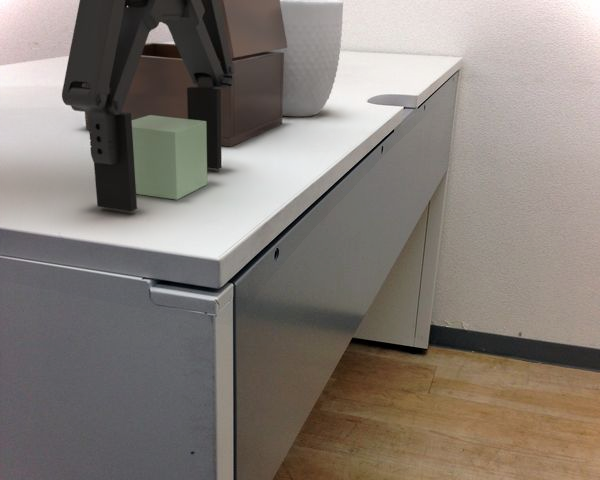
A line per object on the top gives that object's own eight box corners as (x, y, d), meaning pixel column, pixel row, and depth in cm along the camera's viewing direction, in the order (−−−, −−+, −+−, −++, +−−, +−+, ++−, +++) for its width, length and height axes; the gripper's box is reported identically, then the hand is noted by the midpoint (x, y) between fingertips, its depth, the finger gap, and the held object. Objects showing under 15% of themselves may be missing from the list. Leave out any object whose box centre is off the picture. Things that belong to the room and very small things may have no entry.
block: (118, 191, 55) (114, 125, 53) (152, 176, 59) (149, 114, 57) (177, 200, 54) (175, 132, 52) (207, 184, 58) (206, 121, 56)
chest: (85, 129, 76) (79, 51, 72) (154, 110, 88) (152, 42, 85) (230, 146, 71) (230, 63, 68) (282, 123, 83) (284, 52, 80)
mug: (233, 100, 97) (233, -5, 92) (311, 99, 100) (316, -3, 95) (261, 120, 84) (263, -1, 79) (350, 119, 87) (357, 2, 82)
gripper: (190, -108, 60) (196, 149, 68) (-33, -164, 38) (17, 223, 47) (274, -108, 57) (270, 158, 66) (88, -168, 36) (118, 239, 44)
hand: (165, 185), depth 56 cm, fingers open, 13 cm apart
